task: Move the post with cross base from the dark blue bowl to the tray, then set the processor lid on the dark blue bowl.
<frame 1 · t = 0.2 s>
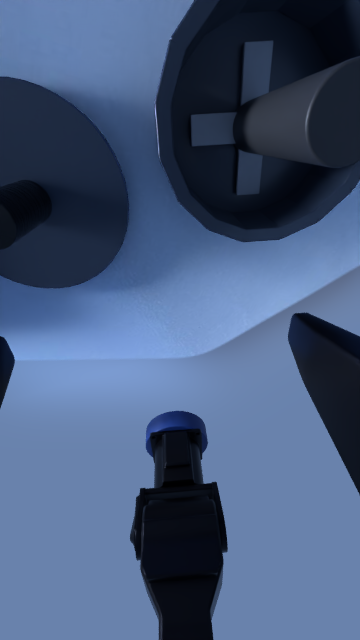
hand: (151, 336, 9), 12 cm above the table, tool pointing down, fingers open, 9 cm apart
processor lid: (34, 200, 17), point 1 cm above the table
post with cross base: (250, 127, 16), resting on dark blue bowl
dark blue bowl: (247, 127, 16), on the table
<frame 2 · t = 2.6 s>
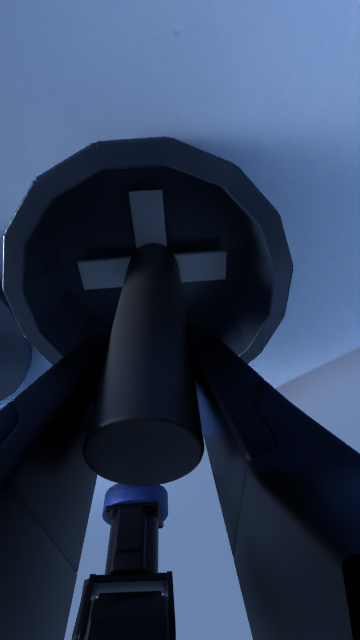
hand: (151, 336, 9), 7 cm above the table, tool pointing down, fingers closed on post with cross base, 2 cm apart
post with cross base: (154, 263, 14), point 1 cm above the table, touching gripper, dark blue bowl
dark blue bowl: (154, 259, 14), on the table
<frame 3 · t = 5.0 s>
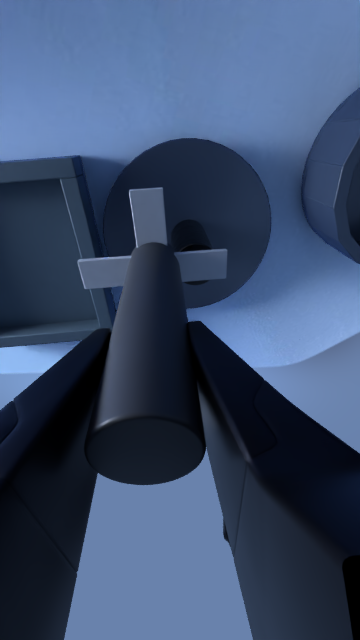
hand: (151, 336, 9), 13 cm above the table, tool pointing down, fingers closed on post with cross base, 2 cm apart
processor lid: (187, 235, 20), point 1 cm above the table
post with cross base: (154, 262, 14), point 7 cm above the table, touching gripper
tray: (24, 260, 21), on the table
when the fingers open (6 cm above the table, at t = 7.7 s): post with cross base stays where it is, resting on tray.
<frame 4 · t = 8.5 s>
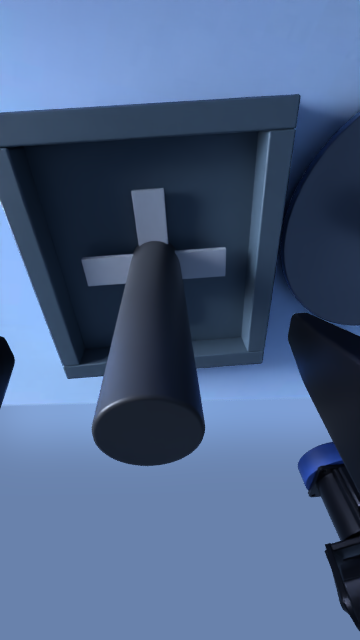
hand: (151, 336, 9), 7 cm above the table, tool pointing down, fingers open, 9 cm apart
post with cross base: (155, 260, 14), resting on tray
tray: (155, 257, 15), on the table
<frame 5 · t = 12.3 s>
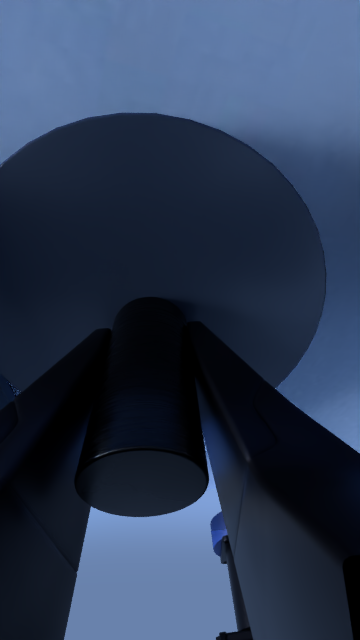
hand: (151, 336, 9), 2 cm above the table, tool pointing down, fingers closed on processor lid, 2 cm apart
processor lid: (151, 319, 10), point 1 cm above the table, touching gripper
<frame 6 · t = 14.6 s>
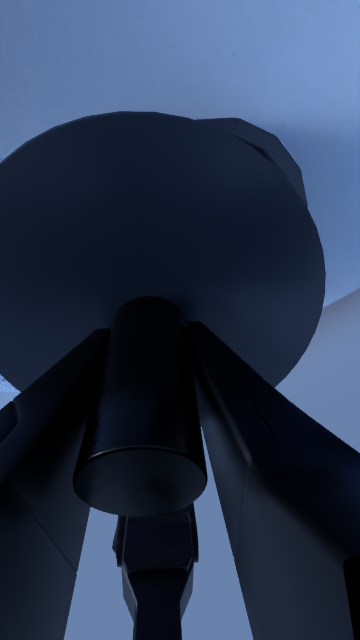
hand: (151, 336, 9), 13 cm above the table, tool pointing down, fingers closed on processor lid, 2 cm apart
processor lid: (150, 319, 10), point 12 cm above the table, touching gripper
dark blue bowl: (203, 213, 20), on the table
when the fingers open (5 cm above the table, at t = 17.0 s): processor lid stays where it is, resting on dark blue bowl.
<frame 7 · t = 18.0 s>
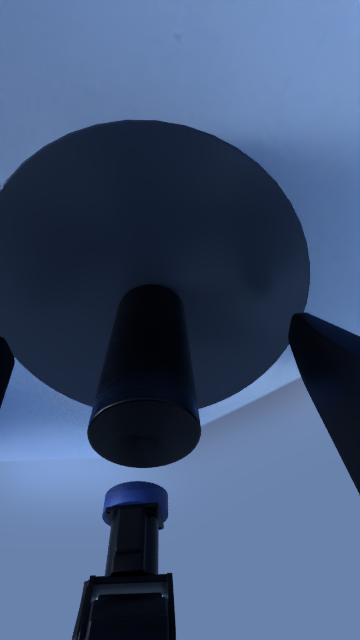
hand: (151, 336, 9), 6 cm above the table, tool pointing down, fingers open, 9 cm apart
processor lid: (151, 306, 11), point 4 cm above the table, touching dark blue bowl
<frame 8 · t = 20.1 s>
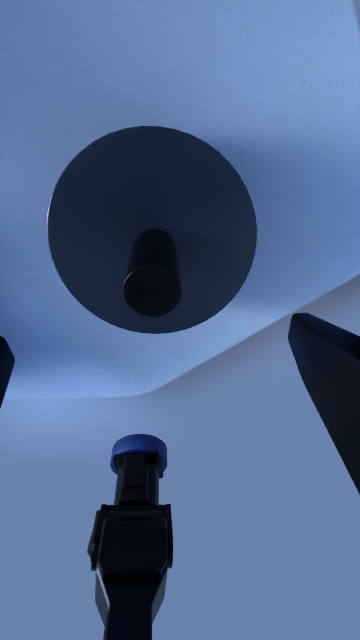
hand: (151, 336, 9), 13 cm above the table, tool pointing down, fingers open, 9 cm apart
processor lid: (154, 247, 16), point 4 cm above the table, touching dark blue bowl
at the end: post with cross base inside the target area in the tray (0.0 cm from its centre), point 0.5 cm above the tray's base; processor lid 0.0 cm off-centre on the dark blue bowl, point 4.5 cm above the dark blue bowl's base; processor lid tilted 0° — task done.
